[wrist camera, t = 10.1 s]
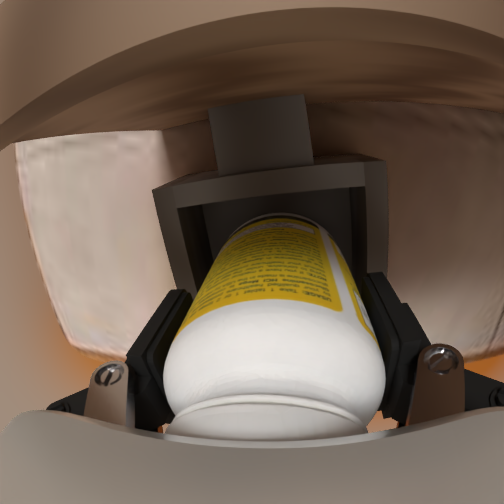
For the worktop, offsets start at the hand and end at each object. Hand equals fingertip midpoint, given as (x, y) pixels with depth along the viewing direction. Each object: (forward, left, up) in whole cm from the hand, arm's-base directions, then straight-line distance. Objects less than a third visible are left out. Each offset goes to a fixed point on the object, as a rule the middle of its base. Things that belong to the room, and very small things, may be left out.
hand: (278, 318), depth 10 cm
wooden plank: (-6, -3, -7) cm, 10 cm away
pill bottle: (0, 0, -4) cm, 4 cm away
